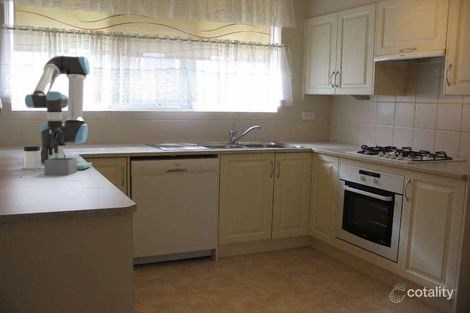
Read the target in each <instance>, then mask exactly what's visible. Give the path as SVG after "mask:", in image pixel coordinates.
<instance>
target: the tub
mask: <svg viewBox="0 0 470 313" xmlns="http://www.w3.org/2000/svg"><path fill="white" fill-rule="evenodd" d="M43 162H44V175H47V176H49V175H51V176H61V175H62V176H70V175H72V174H75V173H77V171H78V170H77V163H78V158H77V157H66V158H51V159H48V160H45V161H43Z"/></svg>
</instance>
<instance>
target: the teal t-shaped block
mask: <svg viewBox="0 0 470 313" xmlns="http://www.w3.org/2000/svg"><path fill="white" fill-rule="evenodd" d="M54 158H61V153H54ZM92 165H93V162H77V171H78V170H80V171H81V170H84V169H86V168H89V167H91V166H92Z"/></svg>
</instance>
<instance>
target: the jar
mask: <svg viewBox="0 0 470 313" xmlns="http://www.w3.org/2000/svg"><path fill="white" fill-rule="evenodd" d="M22 152H23V169H26V170H36V169H41V168H42V161H41V145H39V144H38V145H34V144H33V145H30V144H28V145H23V151H22Z"/></svg>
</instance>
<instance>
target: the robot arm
mask: <svg viewBox="0 0 470 313" xmlns="http://www.w3.org/2000/svg"><path fill="white" fill-rule="evenodd" d="M90 68H91V67H90V63H89V60H88V58H87V56H86V55H83V54H82V55H80V54H58V55H55V56H54V57H52V58H50V59H49V60H48V61H47V62H46V63H45V65H44V66H43V72H42V75H41V77H40V78H39V80H38V82H37V85H36V86H35V88H34V90H33V92H32V93H30V94H29V93H28V94H26V95H25V97H24V103H25V106H26V108H29V109H46V116H47V122H46V123H42V124H41V125H40V128H41V129H40V137H41V148H40V151H41V162H44V161H45V160H48V159H51V158H54V153H61V158H67V157H66V153H65V152H64V147H65V146H66V144H83V143H85V142H86V140H87V137H88V133H89V129H88V127H89V125H88V124H86V120H84V118H83V108H84V107H83V106H84V80H86V79H87V75H90V71H91V70H90ZM60 75H66V78H67V79H68V94H67V95H68V96H67V95H66V94H62V92H61V91H60V90H51V89H52V87H53V85H54V83H55V81H56V79H57V78H58V77H59V76H60ZM65 108H67V117H66V119H65V120H64V123H63V109H65Z"/></svg>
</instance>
